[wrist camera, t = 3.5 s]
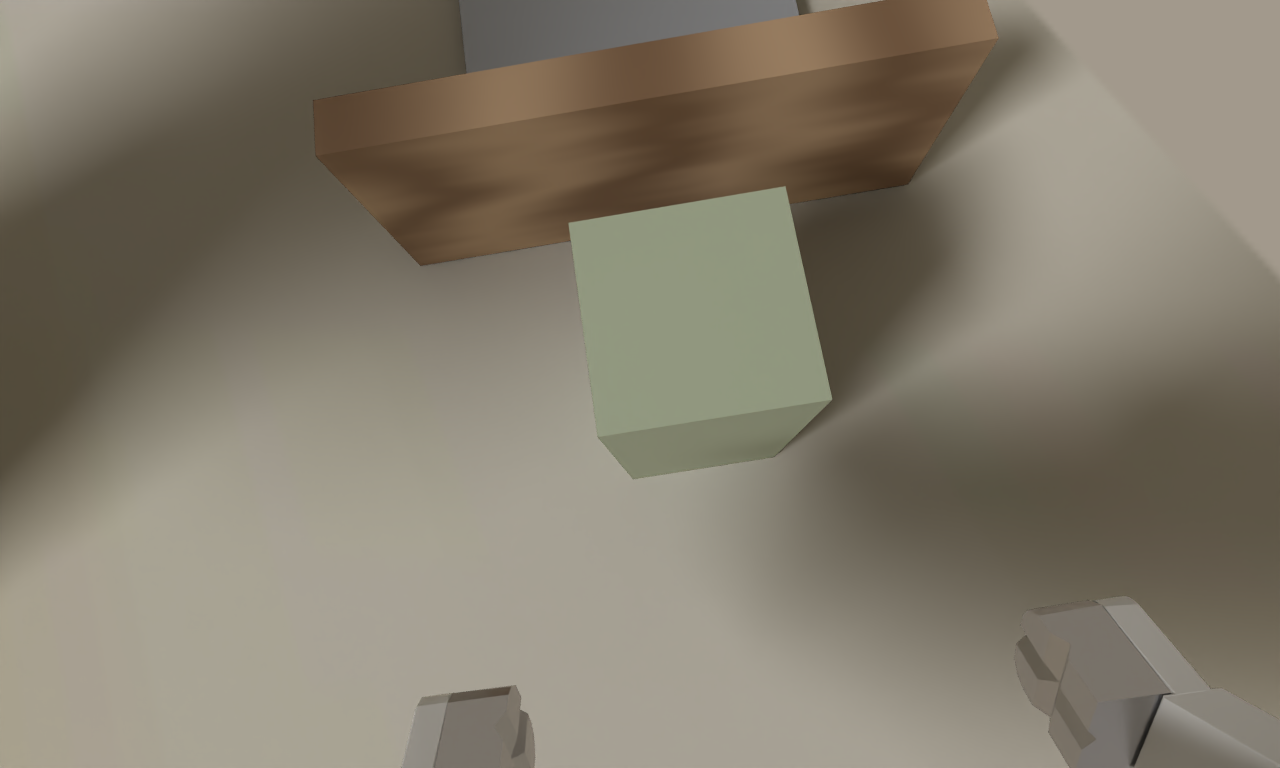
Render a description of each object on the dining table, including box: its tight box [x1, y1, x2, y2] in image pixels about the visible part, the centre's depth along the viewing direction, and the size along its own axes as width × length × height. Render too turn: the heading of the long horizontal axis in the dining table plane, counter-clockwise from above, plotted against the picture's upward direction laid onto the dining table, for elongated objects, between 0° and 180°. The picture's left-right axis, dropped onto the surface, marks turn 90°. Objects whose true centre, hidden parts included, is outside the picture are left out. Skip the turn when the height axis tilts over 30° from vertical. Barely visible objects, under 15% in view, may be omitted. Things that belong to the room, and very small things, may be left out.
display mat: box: [459, 0, 799, 73], centre depth 25 cm, size 12×9×1 cm
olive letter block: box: [568, 186, 832, 479], centre depth 18 cm, size 4×5×9 cm
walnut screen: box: [313, 0, 999, 266], centre depth 20 cm, size 17×2×7 cm, turn 99°
